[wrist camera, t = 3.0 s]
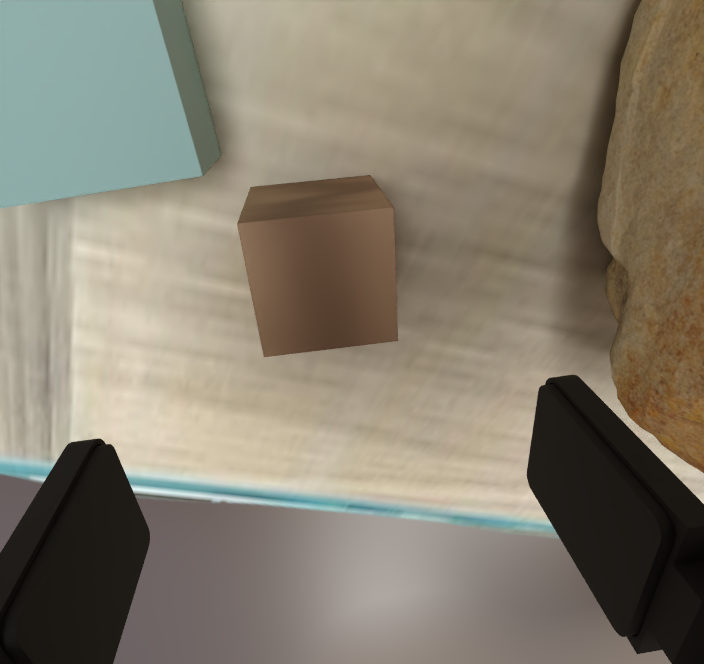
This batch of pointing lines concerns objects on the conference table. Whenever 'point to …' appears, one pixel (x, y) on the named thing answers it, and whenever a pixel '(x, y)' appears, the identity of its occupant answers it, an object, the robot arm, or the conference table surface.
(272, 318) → the walnut cube
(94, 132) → the teal block
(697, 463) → the rough brown rock
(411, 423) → the conference table surface
